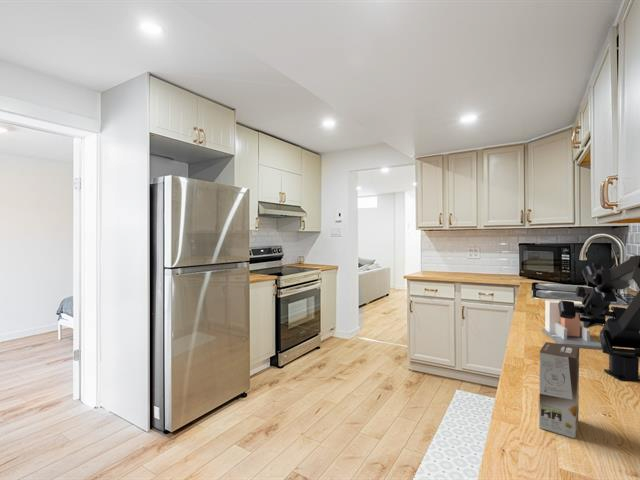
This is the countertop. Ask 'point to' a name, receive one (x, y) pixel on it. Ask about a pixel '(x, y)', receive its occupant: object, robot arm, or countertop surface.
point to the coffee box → (559, 388)
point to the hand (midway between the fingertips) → (585, 326)
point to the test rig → (560, 332)
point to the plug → (572, 325)
